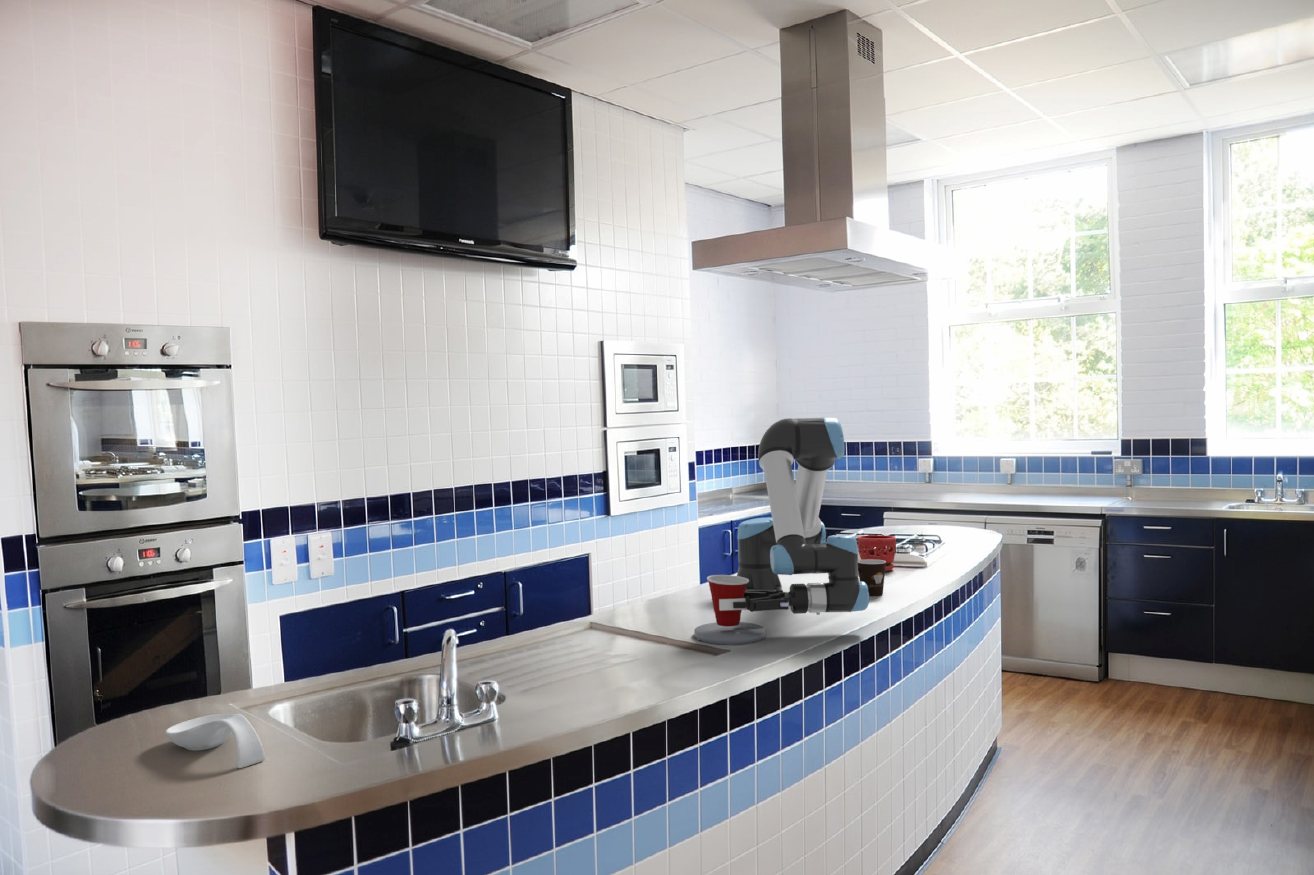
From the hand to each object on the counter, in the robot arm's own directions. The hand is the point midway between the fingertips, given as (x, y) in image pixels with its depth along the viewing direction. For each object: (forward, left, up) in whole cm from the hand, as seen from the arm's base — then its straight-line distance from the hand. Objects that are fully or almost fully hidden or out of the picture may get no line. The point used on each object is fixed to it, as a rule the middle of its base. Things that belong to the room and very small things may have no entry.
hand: (717, 601), depth 228 cm
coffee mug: (-31, +61, -9) cm, 69 cm away
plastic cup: (0, +3, -6) cm, 7 cm away
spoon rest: (+41, -109, -9) cm, 117 cm away
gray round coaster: (+1, +3, -9) cm, 9 cm away
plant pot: (-67, +86, -9) cm, 109 cm away
